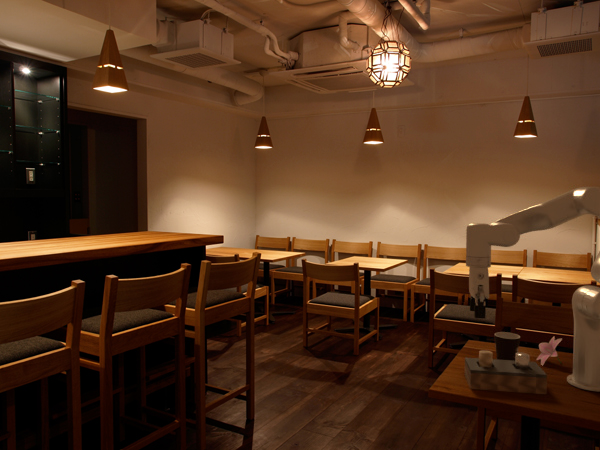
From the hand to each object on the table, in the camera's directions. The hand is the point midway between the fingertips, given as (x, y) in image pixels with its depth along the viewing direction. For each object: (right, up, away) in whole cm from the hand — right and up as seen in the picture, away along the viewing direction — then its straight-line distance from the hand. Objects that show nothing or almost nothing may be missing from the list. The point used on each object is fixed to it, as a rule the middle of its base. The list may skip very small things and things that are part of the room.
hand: (477, 314), depth 154 cm
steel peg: (+13, -18, -3) cm, 23 cm away
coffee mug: (+19, -21, +20) cm, 35 cm away
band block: (+8, -22, -1) cm, 23 cm away
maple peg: (+2, -18, -1) cm, 18 cm away
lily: (+33, -21, +19) cm, 44 cm away
